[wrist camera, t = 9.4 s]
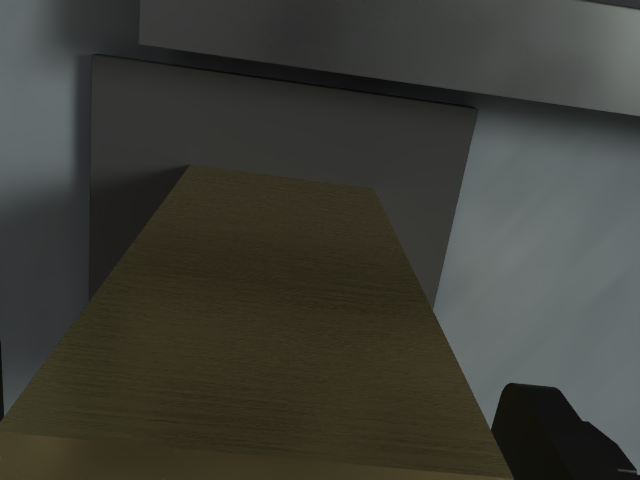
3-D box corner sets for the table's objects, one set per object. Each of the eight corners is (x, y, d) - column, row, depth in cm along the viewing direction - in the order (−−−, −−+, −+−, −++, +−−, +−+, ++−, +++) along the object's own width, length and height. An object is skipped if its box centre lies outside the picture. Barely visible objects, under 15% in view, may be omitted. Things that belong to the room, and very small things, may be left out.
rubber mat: (99, 53, 14) (91, 54, 13) (472, 106, 15) (478, 109, 14) (93, 382, 17) (88, 393, 16) (404, 412, 18) (407, 423, 17)
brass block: (190, 164, 14) (-7, 431, 5) (373, 188, 15) (514, 478, 5) (178, 329, 16) (9, 774, 6) (344, 347, 16) (415, 792, 7)
